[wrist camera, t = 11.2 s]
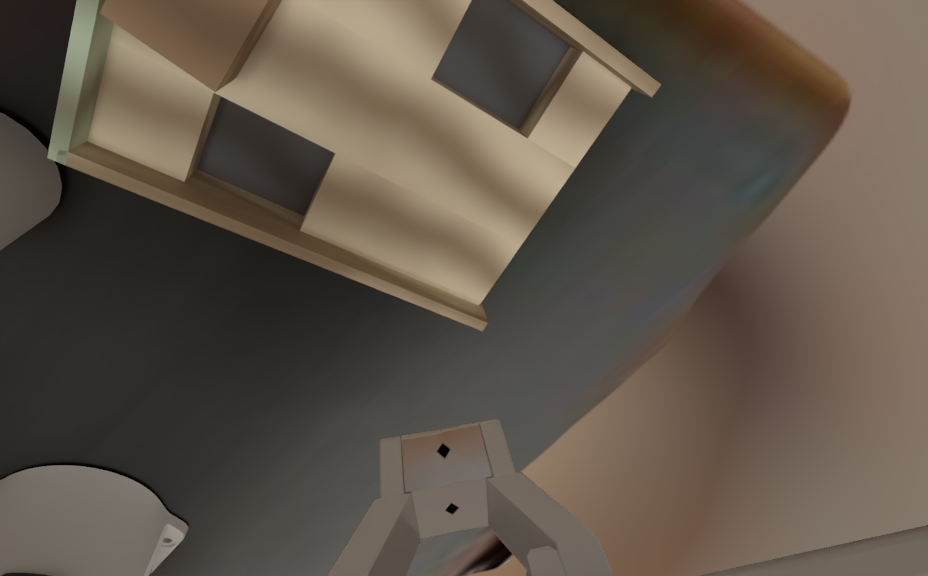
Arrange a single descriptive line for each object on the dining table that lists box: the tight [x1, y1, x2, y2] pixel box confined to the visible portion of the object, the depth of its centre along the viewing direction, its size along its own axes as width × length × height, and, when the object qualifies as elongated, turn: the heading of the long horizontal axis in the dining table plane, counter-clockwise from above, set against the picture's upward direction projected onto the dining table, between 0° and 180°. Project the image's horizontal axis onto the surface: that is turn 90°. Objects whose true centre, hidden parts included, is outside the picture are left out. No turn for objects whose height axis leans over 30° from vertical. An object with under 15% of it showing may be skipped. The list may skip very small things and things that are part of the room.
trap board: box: [47, 0, 661, 331], centre depth 28 cm, size 20×27×4 cm
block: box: [100, 0, 282, 92], centre depth 22 cm, size 5×5×4 cm
